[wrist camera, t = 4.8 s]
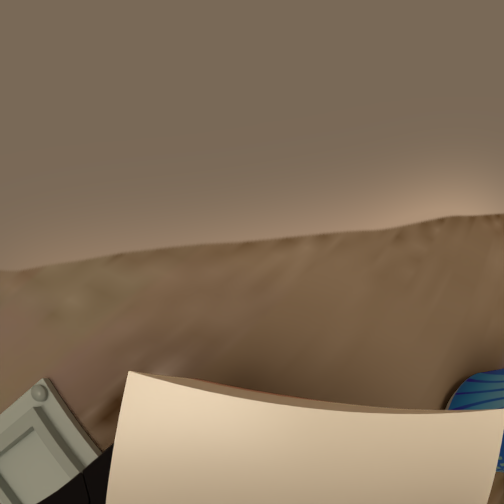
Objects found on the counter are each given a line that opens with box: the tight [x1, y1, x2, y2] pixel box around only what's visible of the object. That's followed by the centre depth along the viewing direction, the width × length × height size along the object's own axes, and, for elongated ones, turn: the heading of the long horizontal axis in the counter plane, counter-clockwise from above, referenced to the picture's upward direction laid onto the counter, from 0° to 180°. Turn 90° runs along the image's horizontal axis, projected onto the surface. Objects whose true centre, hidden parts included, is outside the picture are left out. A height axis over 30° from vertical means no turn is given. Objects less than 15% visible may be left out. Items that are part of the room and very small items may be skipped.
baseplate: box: [0, 378, 102, 504], centre depth 14 cm, size 12×12×2 cm
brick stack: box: [106, 371, 504, 504], centre depth 7 cm, size 4×4×12 cm
